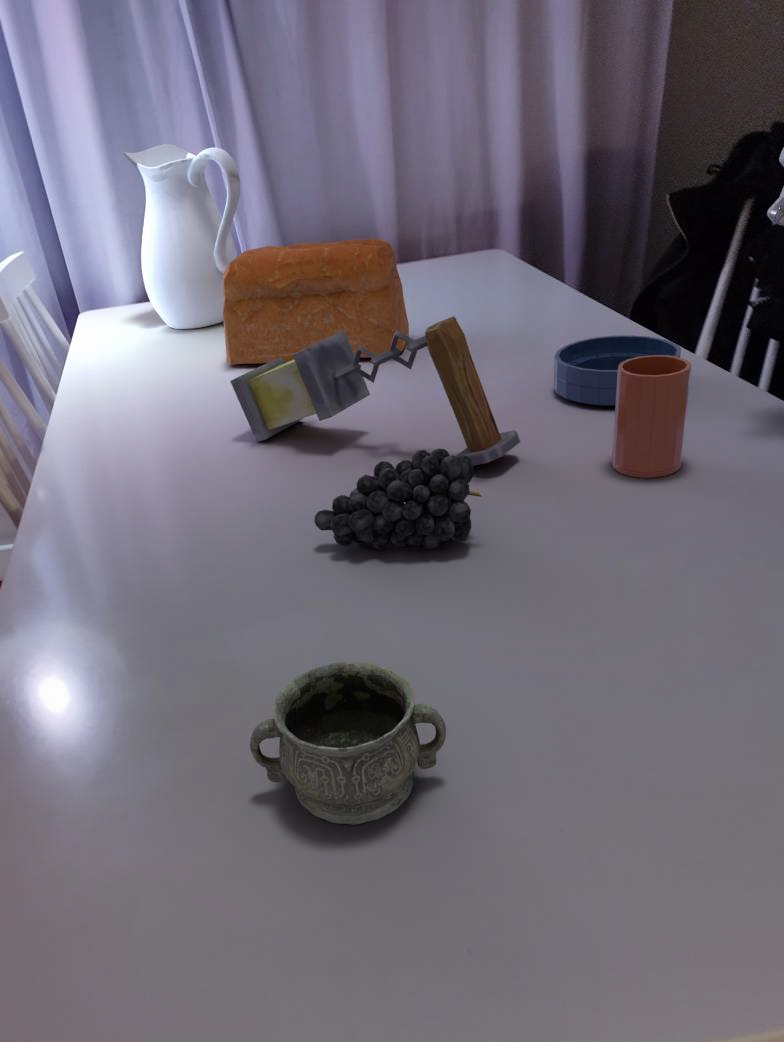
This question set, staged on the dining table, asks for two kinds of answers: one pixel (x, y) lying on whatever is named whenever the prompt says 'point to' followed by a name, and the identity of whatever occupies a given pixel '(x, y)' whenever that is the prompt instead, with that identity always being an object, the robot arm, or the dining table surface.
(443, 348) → the lantern
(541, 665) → the dining table surface
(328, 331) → the bread
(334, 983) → the dining table surface
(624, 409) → the cup
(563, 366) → the bowl
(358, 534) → the fruit
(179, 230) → the pitcher
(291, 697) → the vessel
